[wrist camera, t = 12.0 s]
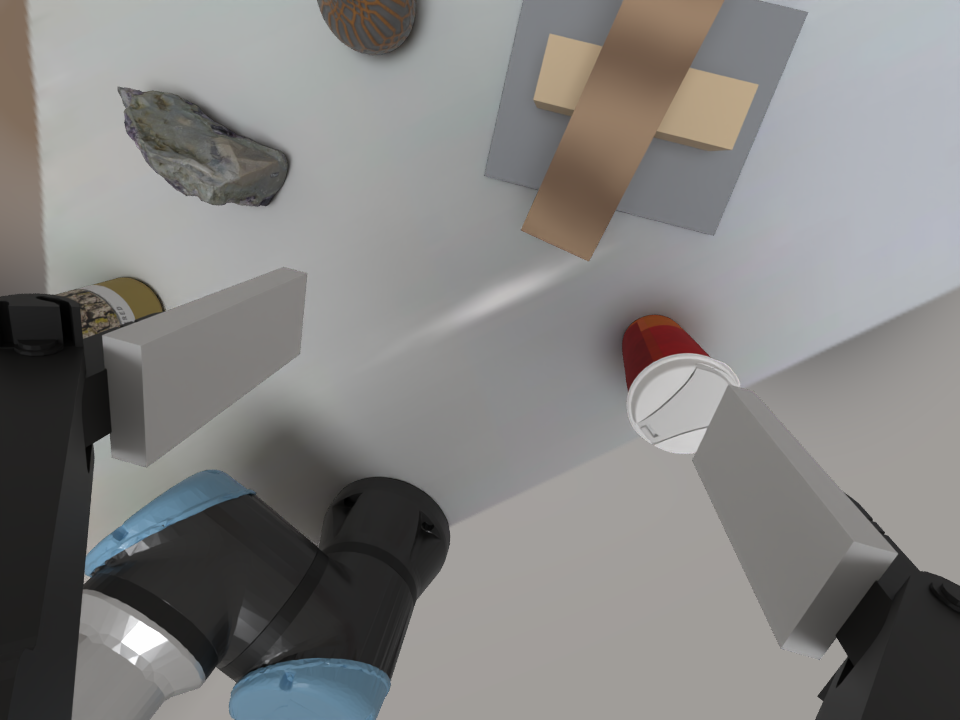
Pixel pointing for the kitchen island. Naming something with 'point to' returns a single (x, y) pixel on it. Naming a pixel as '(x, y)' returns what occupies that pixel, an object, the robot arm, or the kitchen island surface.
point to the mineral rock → (200, 151)
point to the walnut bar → (617, 119)
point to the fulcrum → (687, 123)
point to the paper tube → (113, 304)
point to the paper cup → (671, 384)
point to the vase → (369, 23)
